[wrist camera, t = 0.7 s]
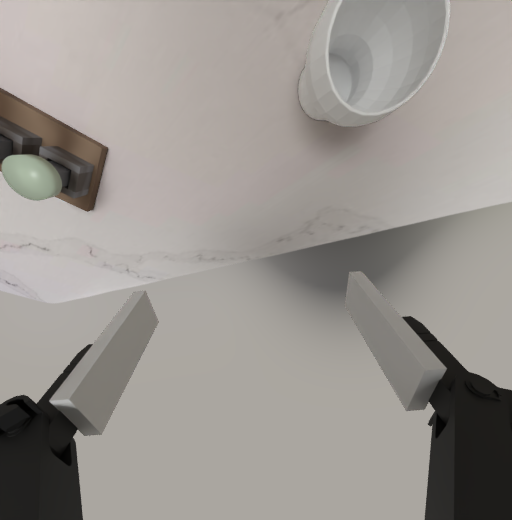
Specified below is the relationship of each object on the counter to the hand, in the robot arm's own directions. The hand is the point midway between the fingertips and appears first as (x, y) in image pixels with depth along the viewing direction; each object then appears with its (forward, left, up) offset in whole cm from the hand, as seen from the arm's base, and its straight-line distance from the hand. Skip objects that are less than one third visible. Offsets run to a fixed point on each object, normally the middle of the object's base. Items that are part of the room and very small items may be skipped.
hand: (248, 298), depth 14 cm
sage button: (0, -27, -22) cm, 35 cm away
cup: (-18, +8, -26) cm, 33 cm away
